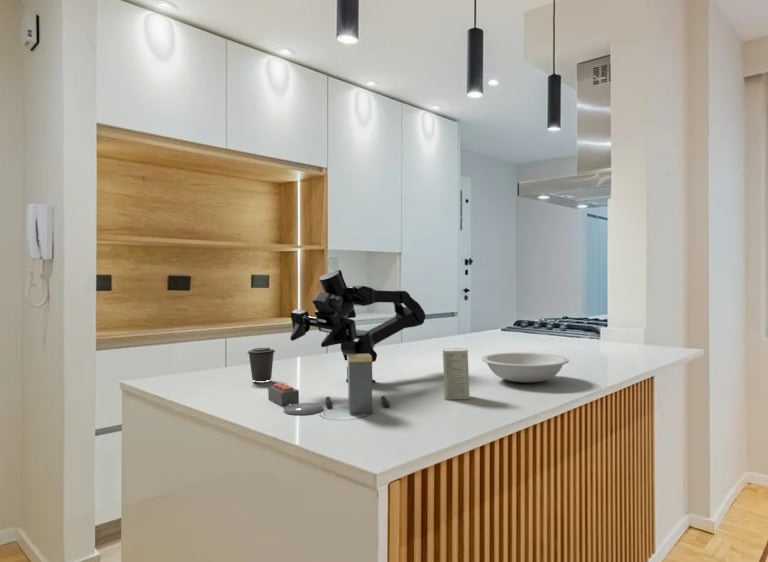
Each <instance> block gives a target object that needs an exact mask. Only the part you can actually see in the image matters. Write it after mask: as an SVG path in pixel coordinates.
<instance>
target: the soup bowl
mask: <svg viewBox="0 0 768 562" xmlns="http://www.w3.org/2000/svg"><path fill="white" fill-rule="evenodd" d="M481 361H482V362H484V363H486V364H487V366H488V368H489V369H490V371H491V372H492V373H493V374H494V375H496V376H497V377H499V378H501V379H503V380H506V381H510V382H515V383H526V384H527V383H528V384H529V383H540V382H544V381H548V380H550V379H552V378H554V377H555V376H556V375H557V374H558V373H559V372H560V371H561V370H562V368H563V365H566V364H568V363H569V358H567V357H564V356H561V355H558V354H557V355H556V354H550V353H543V352H542V353H541V352H502V353H501V352H500V353H491V354H487V355H484V356H482V357H481Z"/></svg>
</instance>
